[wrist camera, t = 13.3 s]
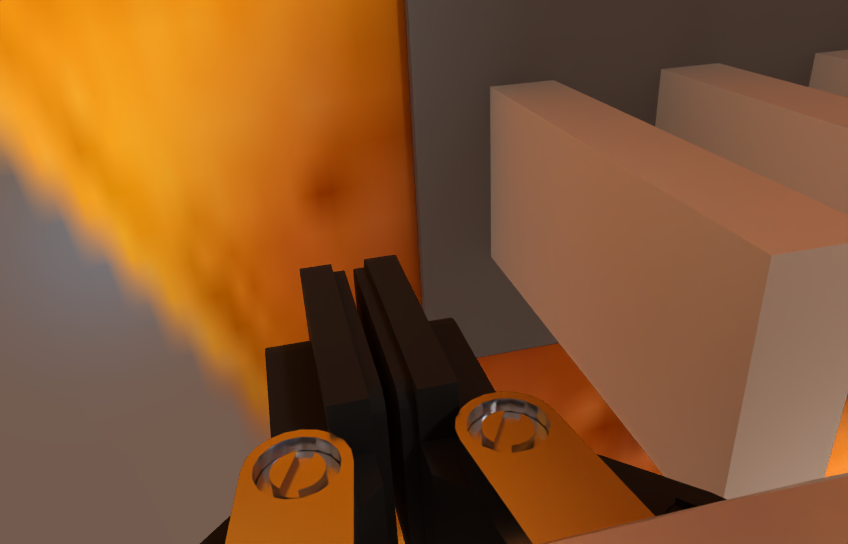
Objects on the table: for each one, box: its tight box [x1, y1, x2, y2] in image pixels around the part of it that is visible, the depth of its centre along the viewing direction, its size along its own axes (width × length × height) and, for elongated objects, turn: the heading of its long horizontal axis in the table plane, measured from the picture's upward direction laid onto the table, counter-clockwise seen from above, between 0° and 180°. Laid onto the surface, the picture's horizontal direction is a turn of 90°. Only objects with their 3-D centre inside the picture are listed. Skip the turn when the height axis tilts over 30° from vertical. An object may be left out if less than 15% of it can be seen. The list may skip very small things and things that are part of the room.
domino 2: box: [490, 80, 848, 500], centre depth 15 cm, size 2×5×11 cm, turn 3°
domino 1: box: [655, 63, 848, 215], centre depth 16 cm, size 2×5×11 cm, turn 3°
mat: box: [405, 0, 848, 358], centre depth 22 cm, size 28×12×1 cm, turn 93°
